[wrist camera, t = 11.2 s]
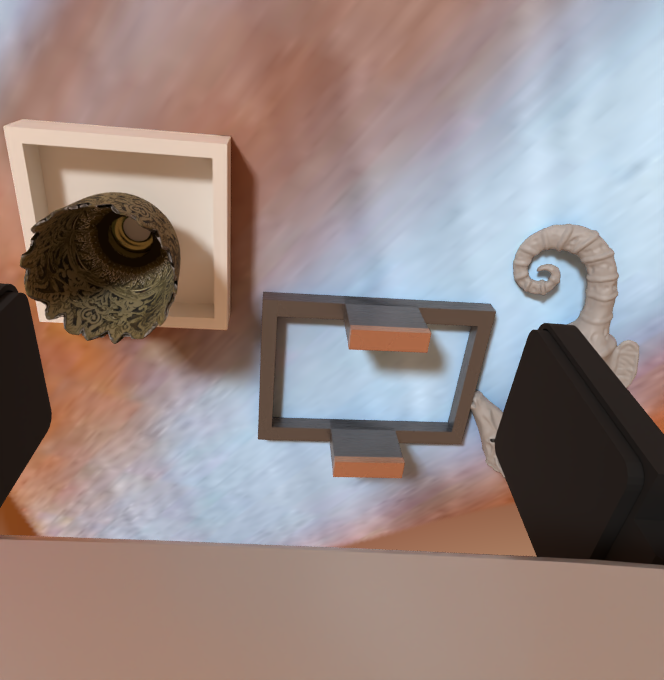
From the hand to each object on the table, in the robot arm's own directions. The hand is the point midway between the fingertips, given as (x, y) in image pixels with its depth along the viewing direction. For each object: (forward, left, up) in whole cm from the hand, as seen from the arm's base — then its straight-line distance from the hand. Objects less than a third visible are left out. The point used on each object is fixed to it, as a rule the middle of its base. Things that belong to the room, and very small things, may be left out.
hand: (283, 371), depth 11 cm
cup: (+9, +6, -25) cm, 27 cm away
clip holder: (-7, +16, -26) cm, 31 cm away
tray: (+9, +6, -26) cm, 28 cm away
